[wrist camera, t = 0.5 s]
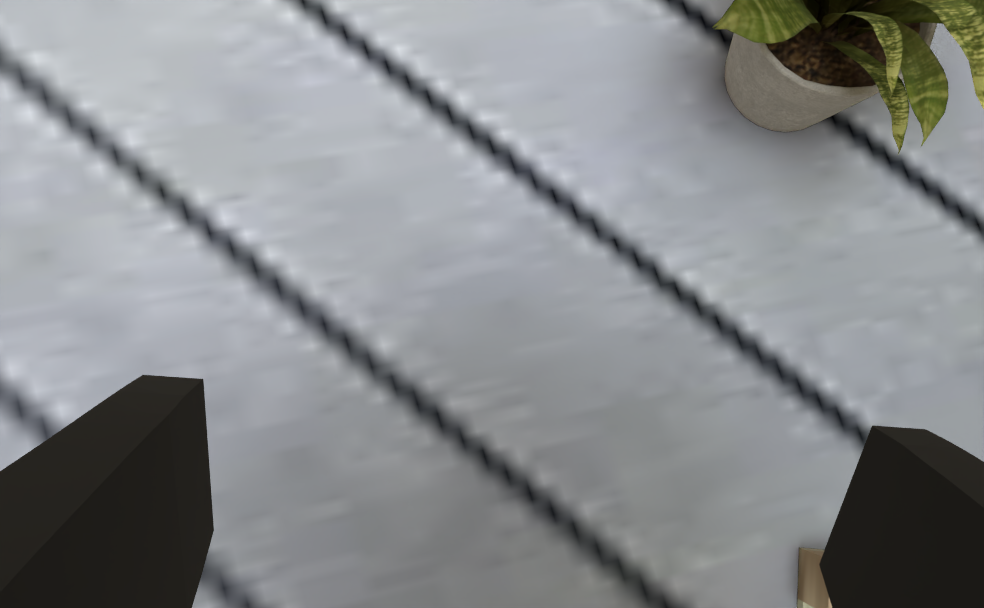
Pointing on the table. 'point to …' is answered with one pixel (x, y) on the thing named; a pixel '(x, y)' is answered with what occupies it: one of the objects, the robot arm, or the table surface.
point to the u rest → (811, 580)
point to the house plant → (845, 58)
